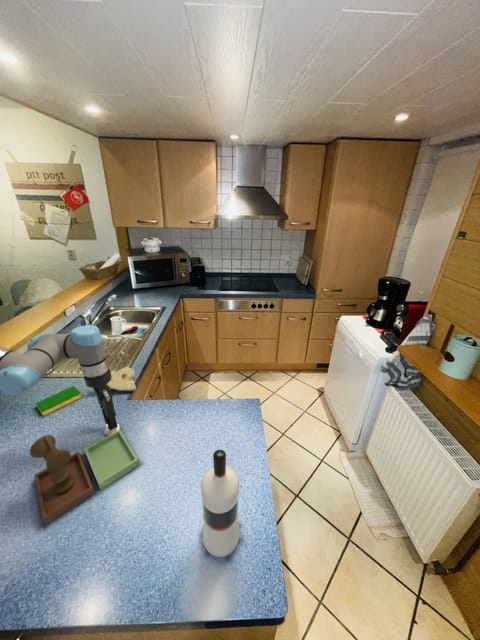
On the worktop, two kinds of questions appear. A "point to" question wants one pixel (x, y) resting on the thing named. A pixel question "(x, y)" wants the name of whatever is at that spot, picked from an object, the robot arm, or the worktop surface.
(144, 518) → the worktop surface
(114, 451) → the green tray
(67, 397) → the dish sponge
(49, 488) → the walnut tray
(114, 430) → the white jar
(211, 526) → the vodka
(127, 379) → the cheese
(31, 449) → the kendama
